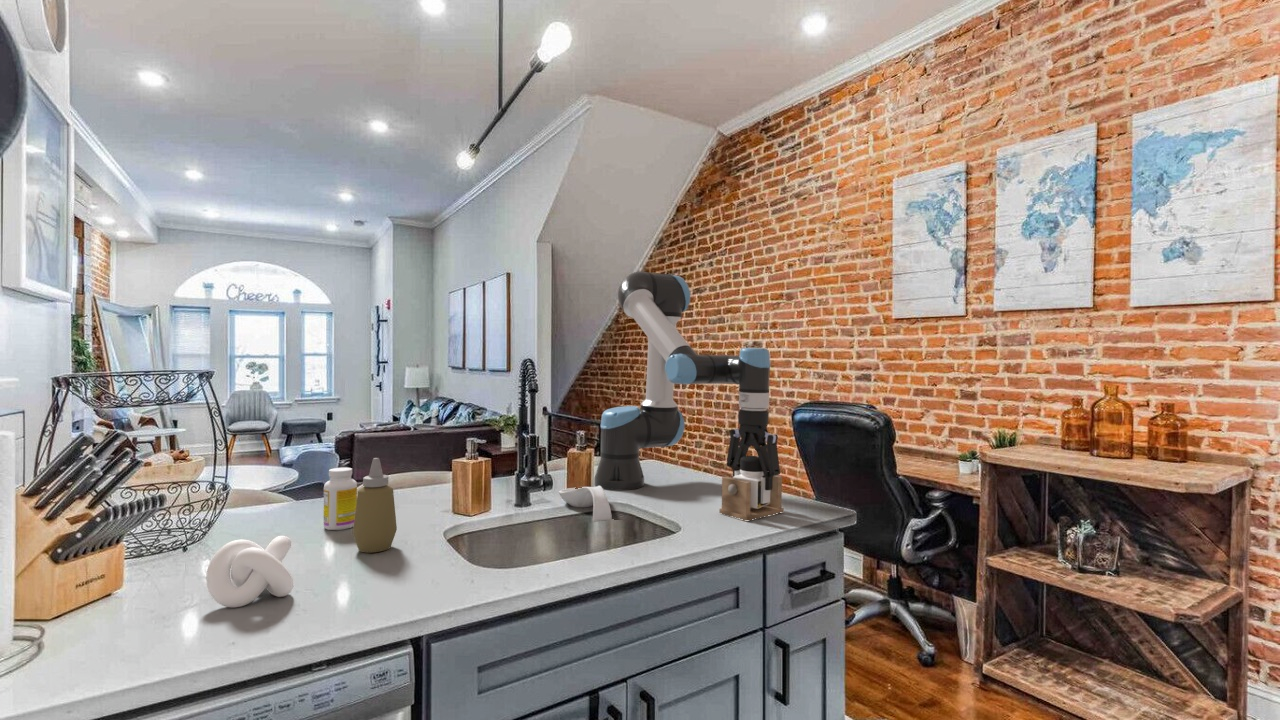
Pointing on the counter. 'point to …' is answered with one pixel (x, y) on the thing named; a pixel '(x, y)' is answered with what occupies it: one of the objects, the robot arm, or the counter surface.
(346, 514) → the supplement bottle
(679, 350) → the robot arm
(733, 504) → the holder
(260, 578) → the white knot sculpture
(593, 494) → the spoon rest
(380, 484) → the squeeze bottle
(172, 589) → the counter surface
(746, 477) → the medicine bottle
